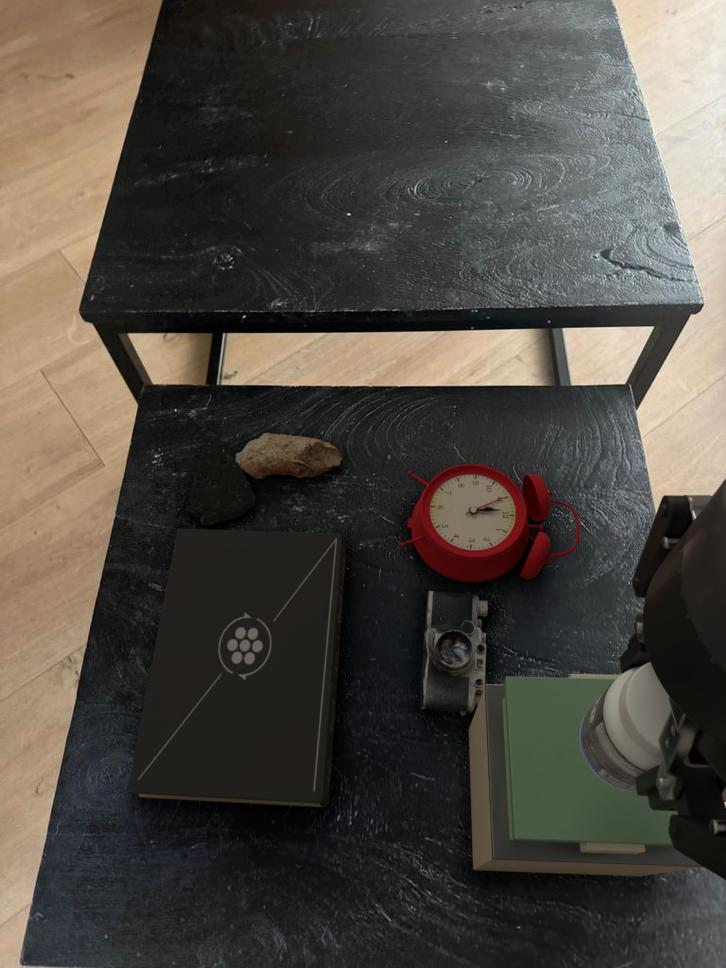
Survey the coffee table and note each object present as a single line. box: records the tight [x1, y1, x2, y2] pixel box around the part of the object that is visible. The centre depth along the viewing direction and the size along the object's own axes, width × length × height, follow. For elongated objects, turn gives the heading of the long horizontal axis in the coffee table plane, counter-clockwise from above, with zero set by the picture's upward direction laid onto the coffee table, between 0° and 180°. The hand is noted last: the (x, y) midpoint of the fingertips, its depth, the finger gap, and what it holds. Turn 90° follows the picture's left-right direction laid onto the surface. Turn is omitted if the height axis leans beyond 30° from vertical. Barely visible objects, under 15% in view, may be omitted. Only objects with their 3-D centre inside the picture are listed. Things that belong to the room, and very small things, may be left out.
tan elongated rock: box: [234, 432, 343, 480], centre depth 72 cm, size 10×4×5 cm
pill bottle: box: [580, 662, 671, 791], centre depth 35 cm, size 5×5×8 cm
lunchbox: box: [502, 673, 678, 854], centre depth 44 cm, size 11×9×4 cm
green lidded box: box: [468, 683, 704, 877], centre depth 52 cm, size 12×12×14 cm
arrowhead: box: [187, 430, 256, 527], centre depth 72 cm, size 6×1×10 cm
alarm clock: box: [398, 463, 581, 583], centre depth 67 cm, size 10×6×15 cm
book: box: [126, 528, 348, 809], centre depth 62 cm, size 22×15×3 cm
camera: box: [419, 590, 489, 717], centre depth 61 cm, size 5×10×4 cm, turn 173°
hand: (650, 724), depth 35 cm, fingers closed on pill bottle, 4 cm apart
